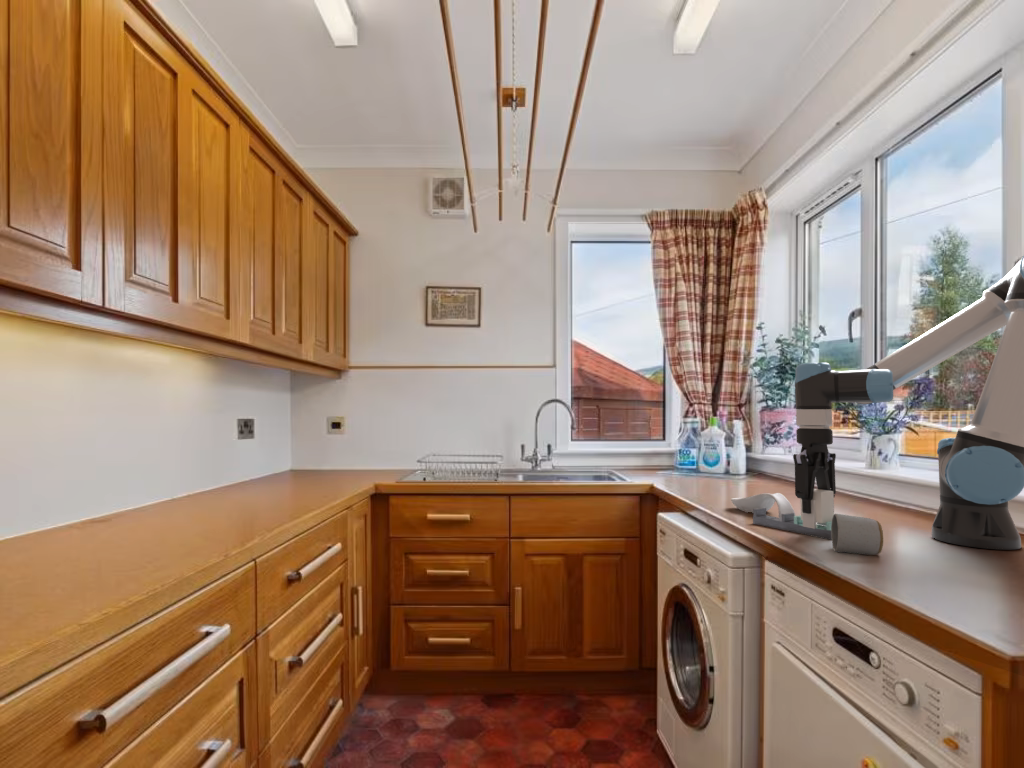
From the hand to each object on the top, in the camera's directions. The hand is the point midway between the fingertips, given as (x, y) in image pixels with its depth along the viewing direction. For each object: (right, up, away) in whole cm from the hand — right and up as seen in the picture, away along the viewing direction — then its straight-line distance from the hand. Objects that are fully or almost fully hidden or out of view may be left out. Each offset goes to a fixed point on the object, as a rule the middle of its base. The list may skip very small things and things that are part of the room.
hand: (816, 526), depth 125 cm
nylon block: (0, +1, 0) cm, 1 cm away
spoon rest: (0, -4, +25) cm, 26 cm away
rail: (-3, -2, +5) cm, 6 cm away
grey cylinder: (-1, -1, -15) cm, 15 cm away
